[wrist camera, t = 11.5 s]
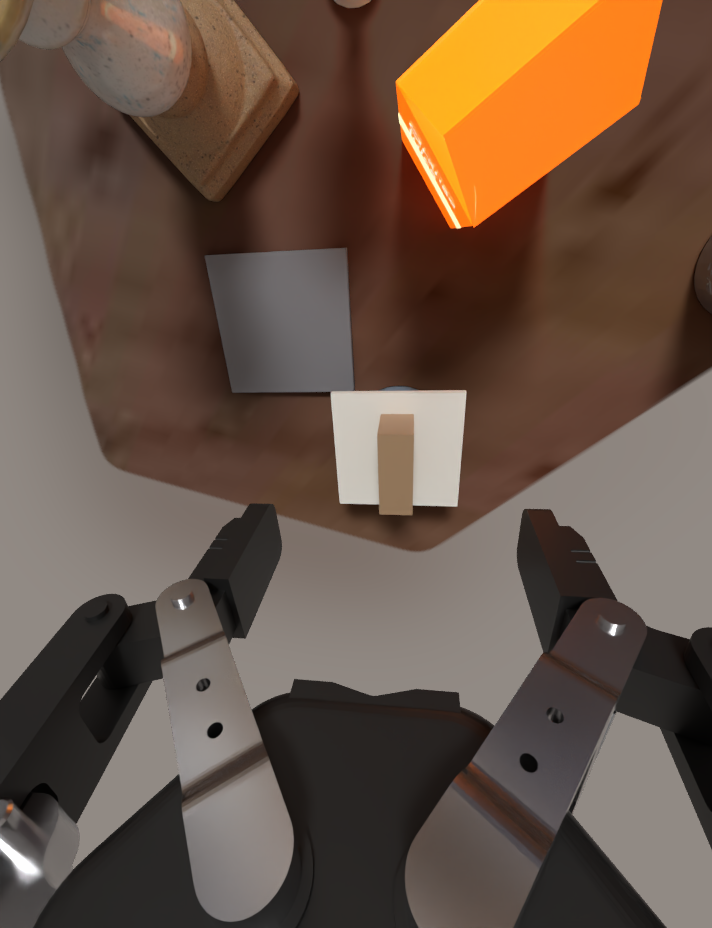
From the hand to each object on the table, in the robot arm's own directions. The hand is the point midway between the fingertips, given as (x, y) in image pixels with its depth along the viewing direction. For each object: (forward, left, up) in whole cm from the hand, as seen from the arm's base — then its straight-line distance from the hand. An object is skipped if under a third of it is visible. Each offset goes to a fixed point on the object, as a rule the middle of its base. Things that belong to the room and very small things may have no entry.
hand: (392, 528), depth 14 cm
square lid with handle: (+1, +10, -25) cm, 27 cm away
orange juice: (-5, -14, -30) cm, 34 cm away
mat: (+12, -1, -30) cm, 32 cm away
